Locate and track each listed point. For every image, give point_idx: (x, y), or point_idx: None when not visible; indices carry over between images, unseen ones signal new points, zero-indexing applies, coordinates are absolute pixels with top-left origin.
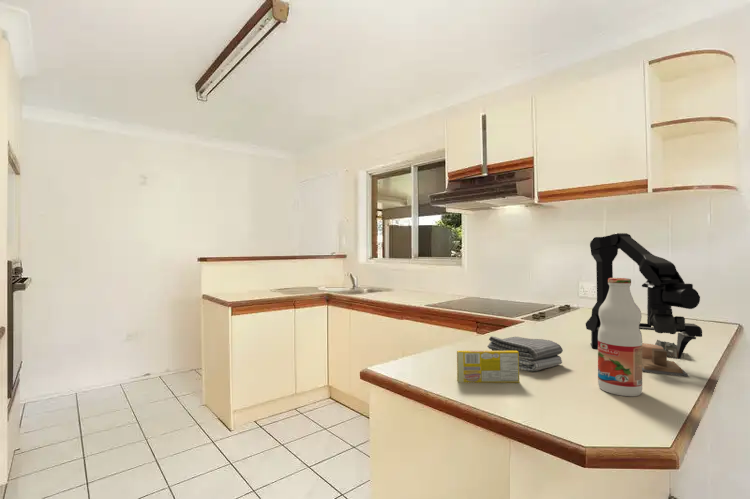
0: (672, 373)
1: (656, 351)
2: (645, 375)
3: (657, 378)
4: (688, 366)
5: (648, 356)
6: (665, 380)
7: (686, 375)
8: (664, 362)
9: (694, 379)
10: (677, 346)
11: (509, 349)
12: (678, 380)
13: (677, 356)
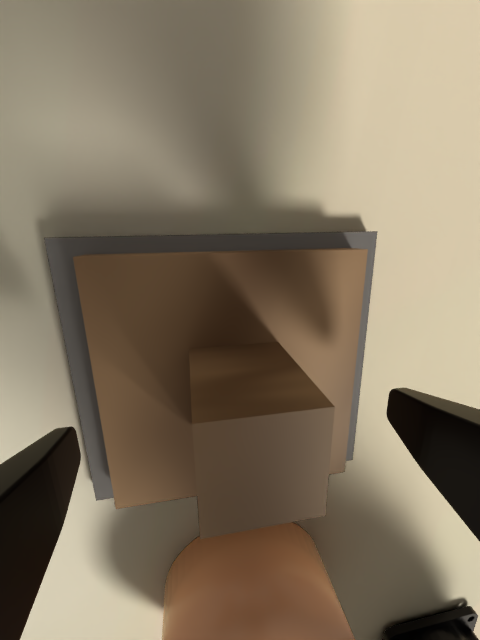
0: (165, 235)
1: (306, 406)
2: (364, 123)
3: (299, 59)
4: None
5: (264, 549)
6: (251, 11)
7: (61, 238)
8: (207, 359)
9: (8, 165)
10: (7, 638)
11: None
12: (145, 62)
13: (72, 464)
